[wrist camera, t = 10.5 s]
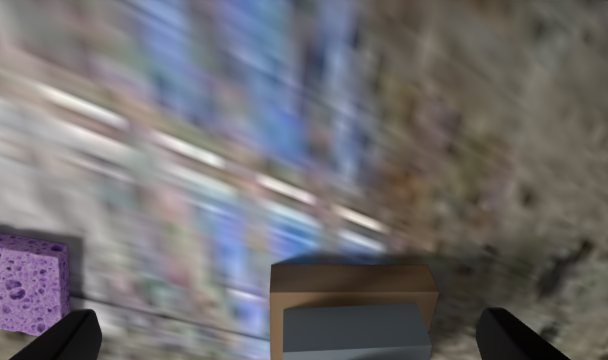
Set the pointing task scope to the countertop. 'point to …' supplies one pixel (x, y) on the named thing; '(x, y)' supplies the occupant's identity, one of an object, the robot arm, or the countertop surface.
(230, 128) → the countertop surface
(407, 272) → the walnut base slab
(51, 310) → the sponges
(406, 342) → the slate top slab
